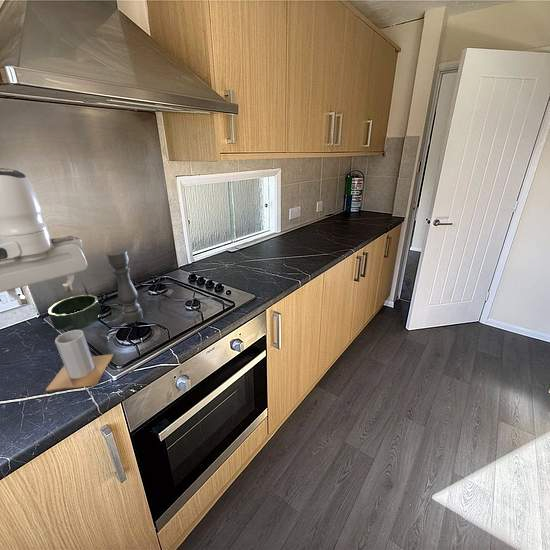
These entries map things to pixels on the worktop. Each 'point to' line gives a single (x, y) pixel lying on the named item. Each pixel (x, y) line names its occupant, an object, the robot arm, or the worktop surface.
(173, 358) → the worktop surface
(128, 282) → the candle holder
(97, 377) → the mat
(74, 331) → the cup
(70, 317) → the bowl
